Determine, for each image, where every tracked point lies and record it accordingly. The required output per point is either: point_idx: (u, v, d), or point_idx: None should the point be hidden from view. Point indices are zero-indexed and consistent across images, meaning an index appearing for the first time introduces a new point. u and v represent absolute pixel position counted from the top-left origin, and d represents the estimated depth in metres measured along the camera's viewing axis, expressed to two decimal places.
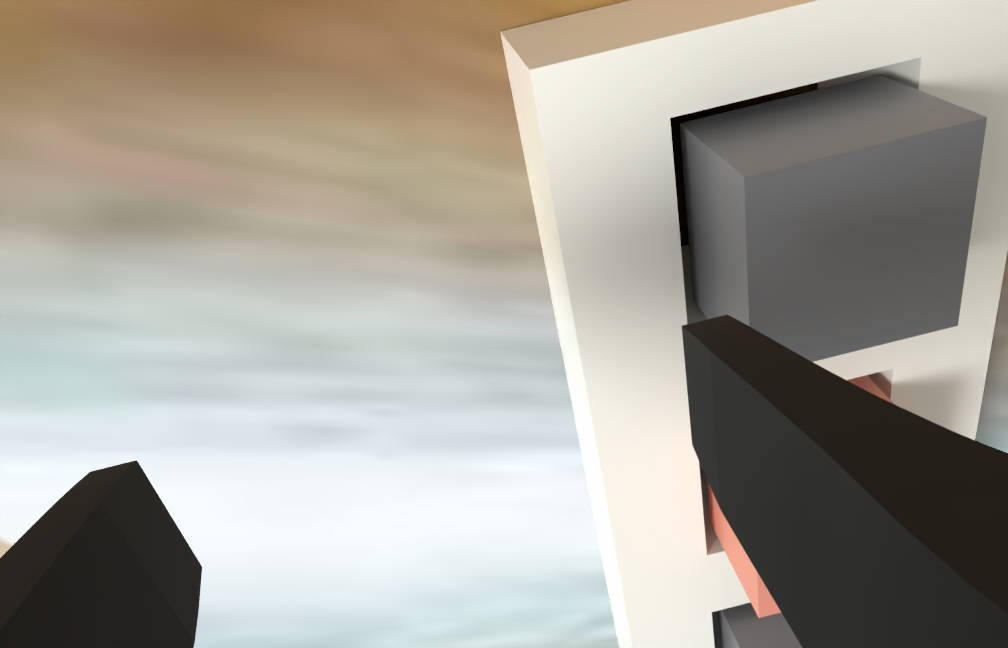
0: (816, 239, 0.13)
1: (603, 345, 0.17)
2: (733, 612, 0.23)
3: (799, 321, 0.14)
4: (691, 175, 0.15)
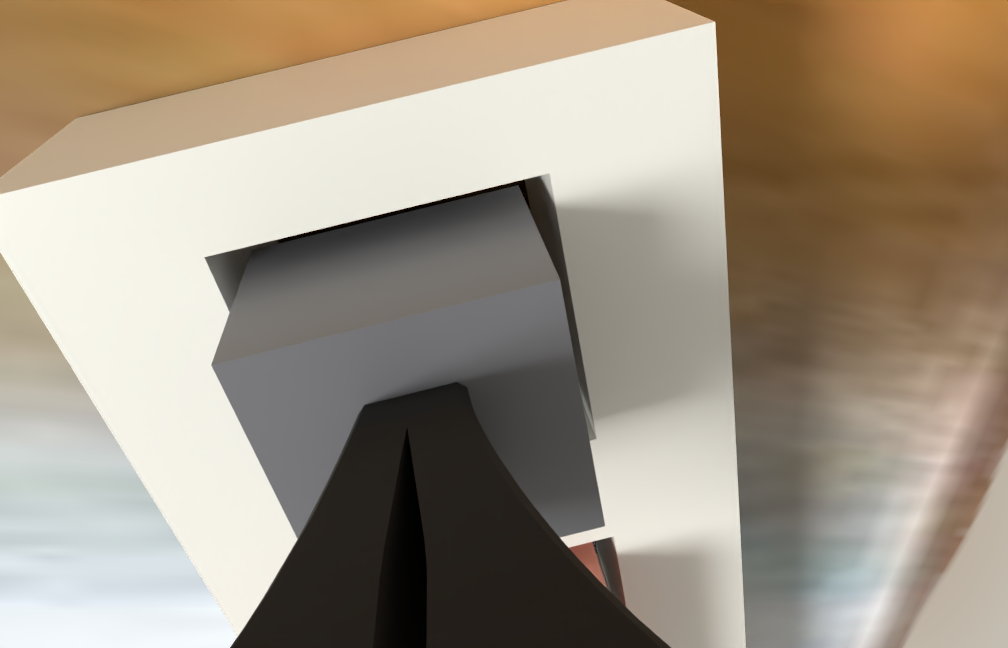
0: None
1: (204, 525, 0.13)
2: None
3: None
4: None
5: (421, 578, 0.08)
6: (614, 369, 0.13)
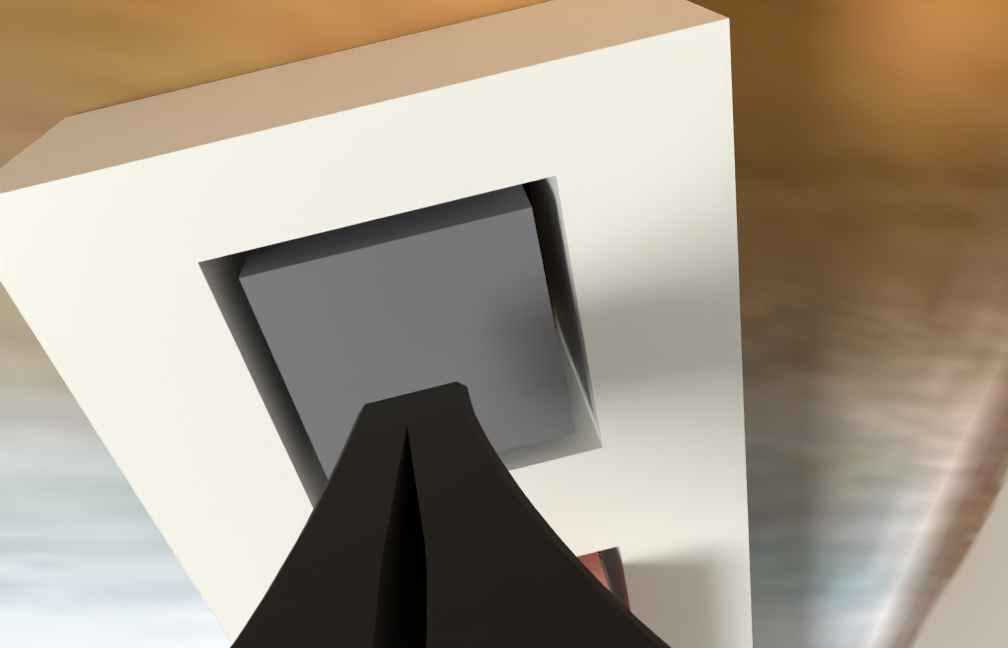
0: (359, 345, 0.11)
1: (199, 536, 0.13)
2: None
3: None
4: None
5: (421, 578, 0.08)
6: (621, 376, 0.12)
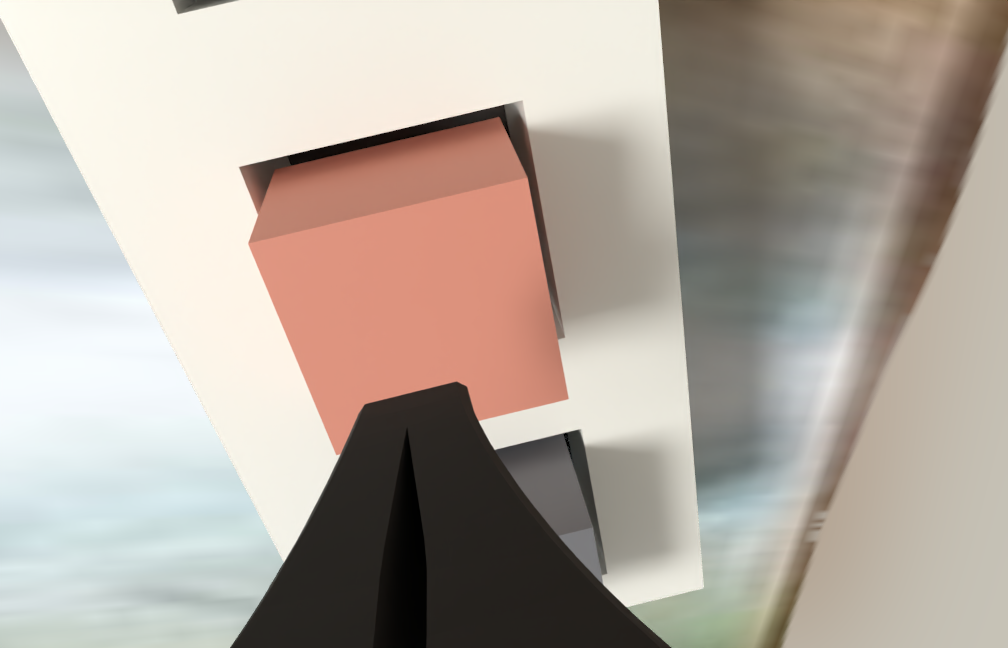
0: None
1: (44, 27, 0.11)
2: None
3: None
4: None
5: (421, 578, 0.08)
6: None
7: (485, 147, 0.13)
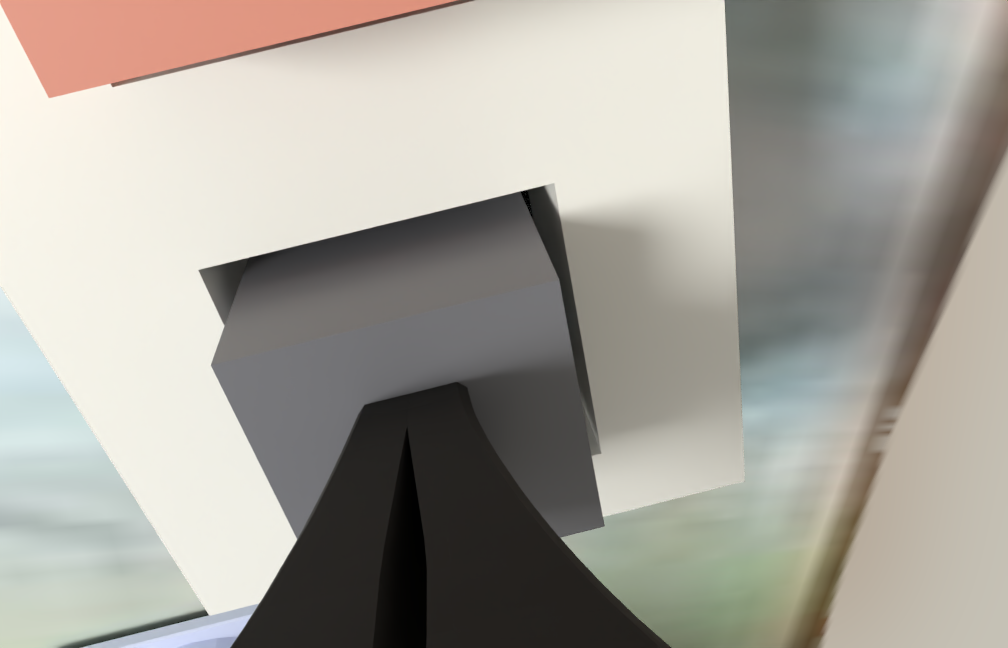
0: None
1: None
2: (264, 263, 0.11)
3: None
4: None
5: (421, 578, 0.08)
6: None
7: None
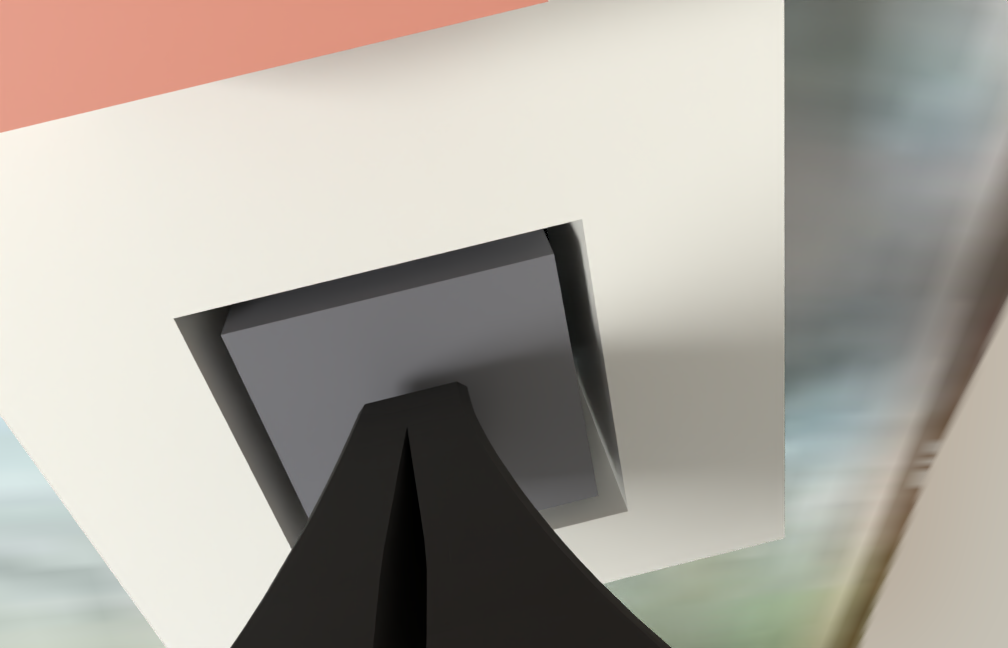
0: None
1: None
2: None
3: None
4: None
5: (421, 578, 0.08)
6: None
7: None
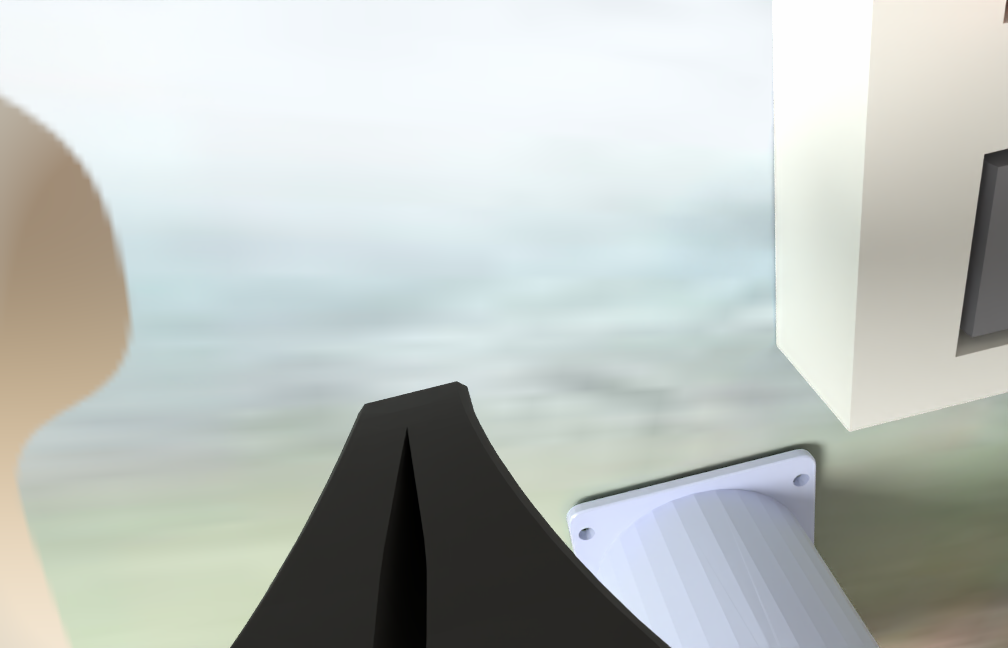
0: None
1: None
2: None
3: None
4: None
5: (421, 578, 0.08)
6: None
7: None
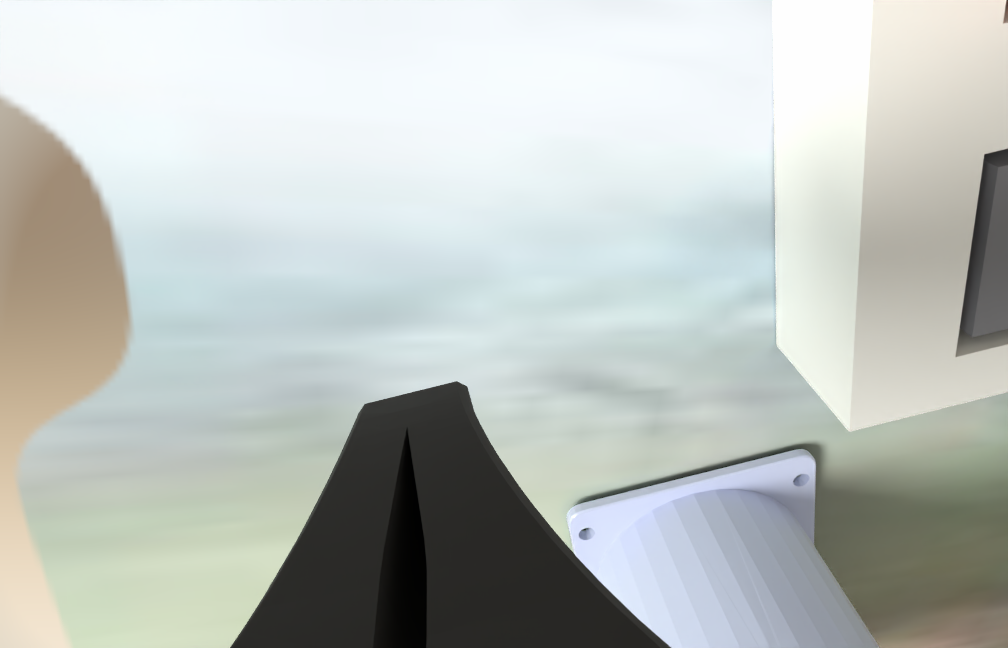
0: None
1: None
2: None
3: None
4: None
5: (421, 578, 0.08)
6: None
7: None
